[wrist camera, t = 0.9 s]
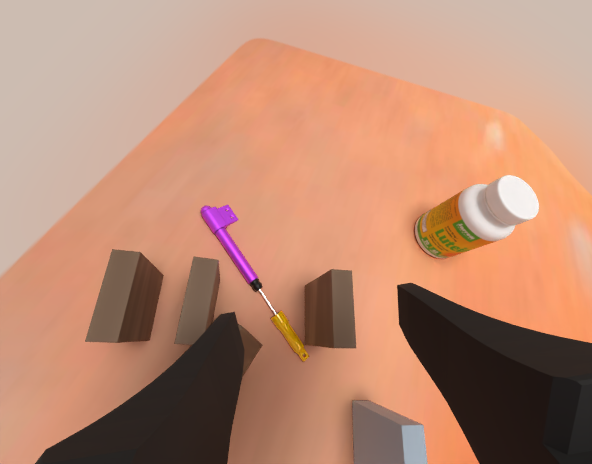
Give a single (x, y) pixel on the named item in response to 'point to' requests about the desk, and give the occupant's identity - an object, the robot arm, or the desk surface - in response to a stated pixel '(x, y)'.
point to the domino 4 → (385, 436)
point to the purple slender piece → (248, 269)
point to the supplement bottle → (476, 217)
